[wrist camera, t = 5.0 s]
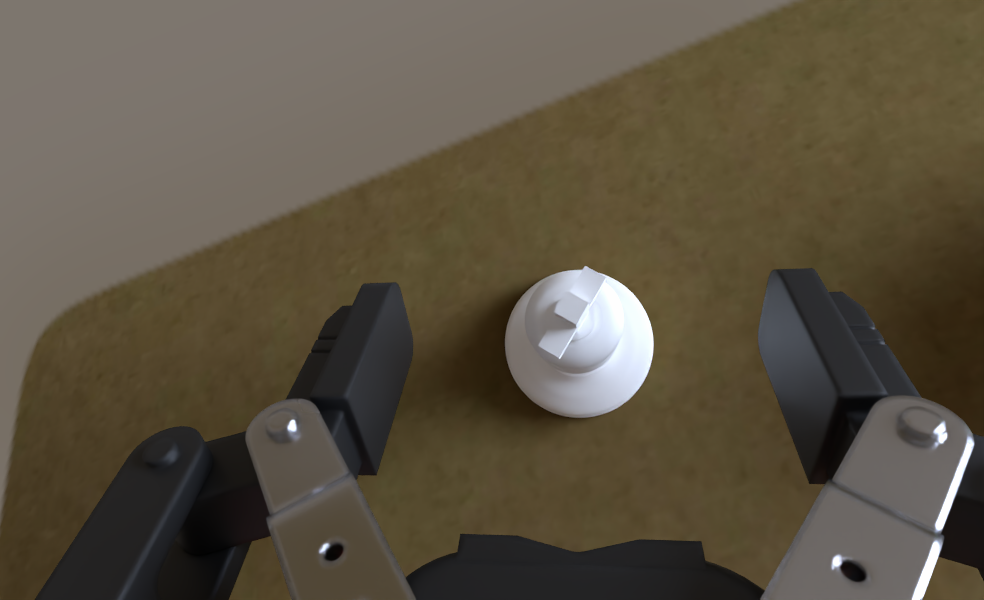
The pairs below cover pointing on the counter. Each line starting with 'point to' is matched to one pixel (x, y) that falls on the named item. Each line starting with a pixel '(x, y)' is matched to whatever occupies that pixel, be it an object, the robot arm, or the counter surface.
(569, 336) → the chess piece
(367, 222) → the counter surface
